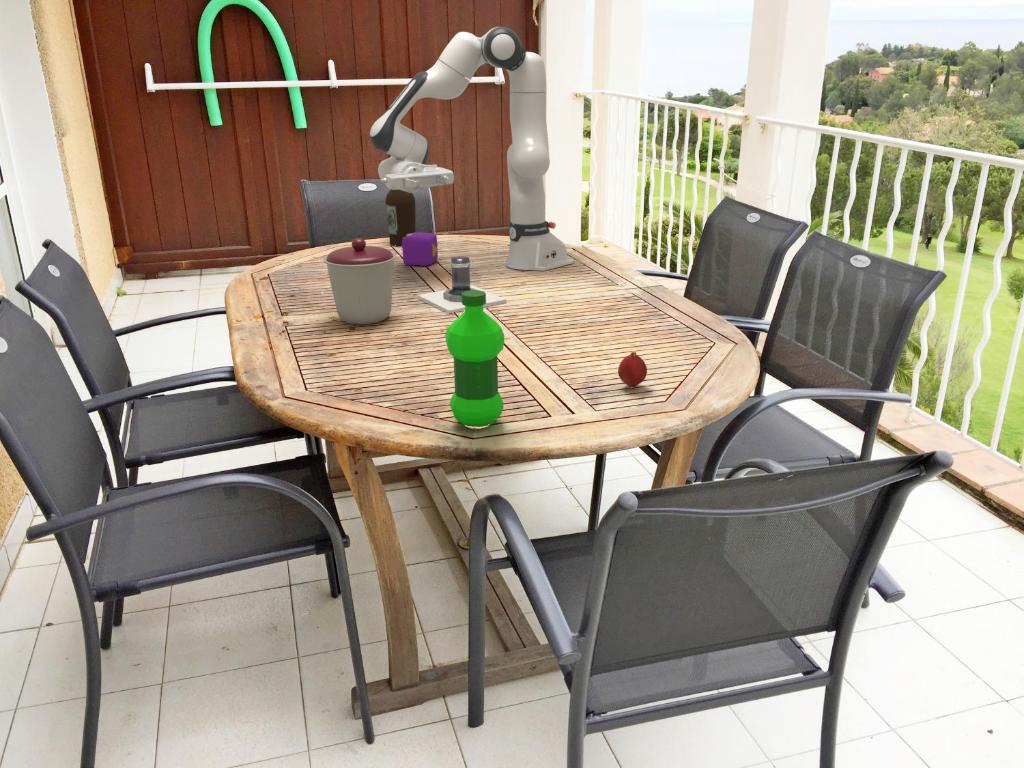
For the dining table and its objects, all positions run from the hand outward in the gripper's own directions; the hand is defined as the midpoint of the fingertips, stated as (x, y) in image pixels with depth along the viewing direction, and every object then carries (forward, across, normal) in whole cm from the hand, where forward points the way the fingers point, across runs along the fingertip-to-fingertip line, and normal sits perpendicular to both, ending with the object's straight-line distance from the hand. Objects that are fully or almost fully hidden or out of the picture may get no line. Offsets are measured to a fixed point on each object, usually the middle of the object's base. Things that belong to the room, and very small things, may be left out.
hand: (432, 182), depth 229 cm
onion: (+93, -5, +30) cm, 98 cm away
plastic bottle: (+90, -40, +30) cm, 103 cm away
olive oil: (-58, +17, +30) cm, 67 cm away
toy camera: (-29, +10, +30) cm, 43 cm away
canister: (+18, -31, +30) cm, 47 cm away
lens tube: (+18, -2, +29) cm, 34 cm away
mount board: (+18, -2, +30) cm, 35 cm away
